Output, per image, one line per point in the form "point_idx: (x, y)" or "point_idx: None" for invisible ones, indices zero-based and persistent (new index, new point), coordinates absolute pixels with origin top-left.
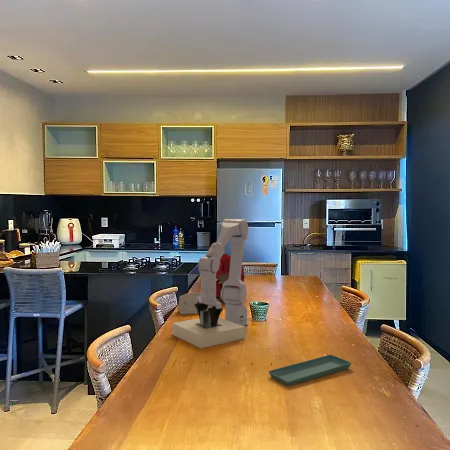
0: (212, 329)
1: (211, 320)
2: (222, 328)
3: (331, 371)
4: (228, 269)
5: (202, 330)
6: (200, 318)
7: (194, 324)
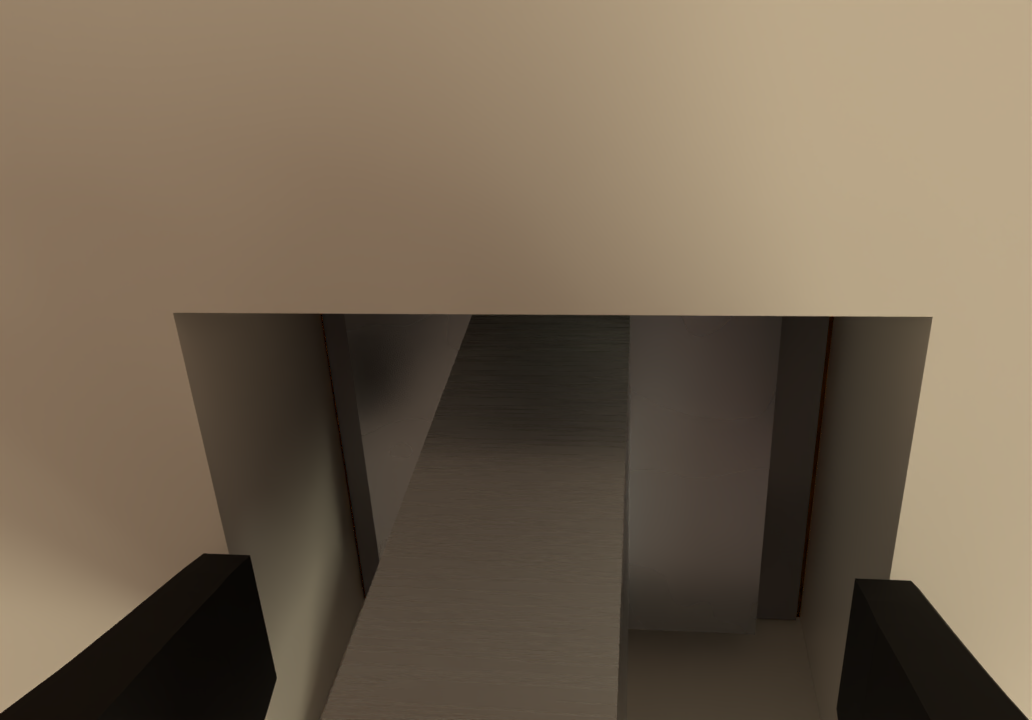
0: (46, 444)
1: (76, 672)
2: (50, 670)
3: None
4: None
5: (38, 137)
6: (585, 550)
7: (871, 310)
